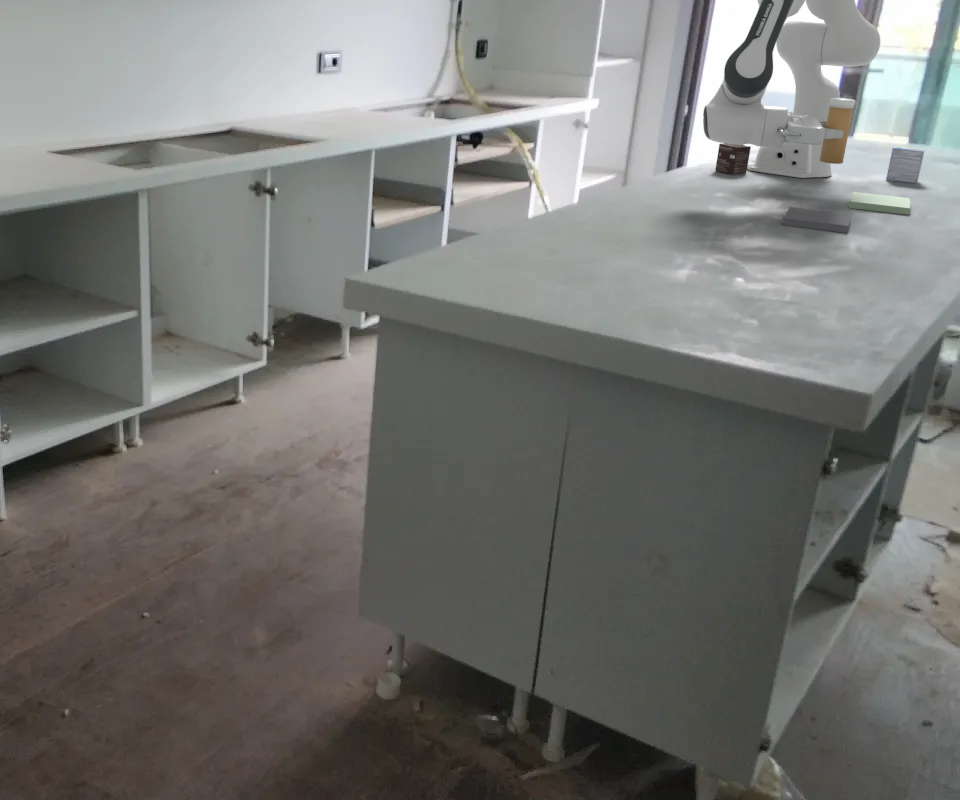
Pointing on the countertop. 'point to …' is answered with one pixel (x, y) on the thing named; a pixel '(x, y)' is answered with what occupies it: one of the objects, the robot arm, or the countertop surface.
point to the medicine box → (905, 164)
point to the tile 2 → (880, 203)
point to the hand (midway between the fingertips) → (840, 132)
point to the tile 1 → (817, 219)
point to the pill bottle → (841, 120)
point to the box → (732, 159)
